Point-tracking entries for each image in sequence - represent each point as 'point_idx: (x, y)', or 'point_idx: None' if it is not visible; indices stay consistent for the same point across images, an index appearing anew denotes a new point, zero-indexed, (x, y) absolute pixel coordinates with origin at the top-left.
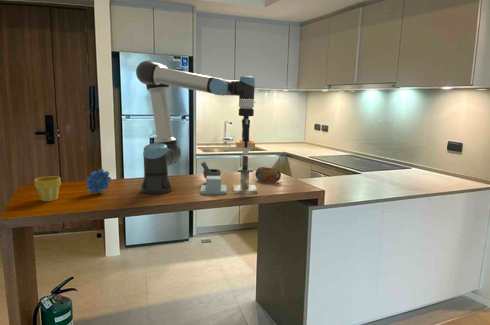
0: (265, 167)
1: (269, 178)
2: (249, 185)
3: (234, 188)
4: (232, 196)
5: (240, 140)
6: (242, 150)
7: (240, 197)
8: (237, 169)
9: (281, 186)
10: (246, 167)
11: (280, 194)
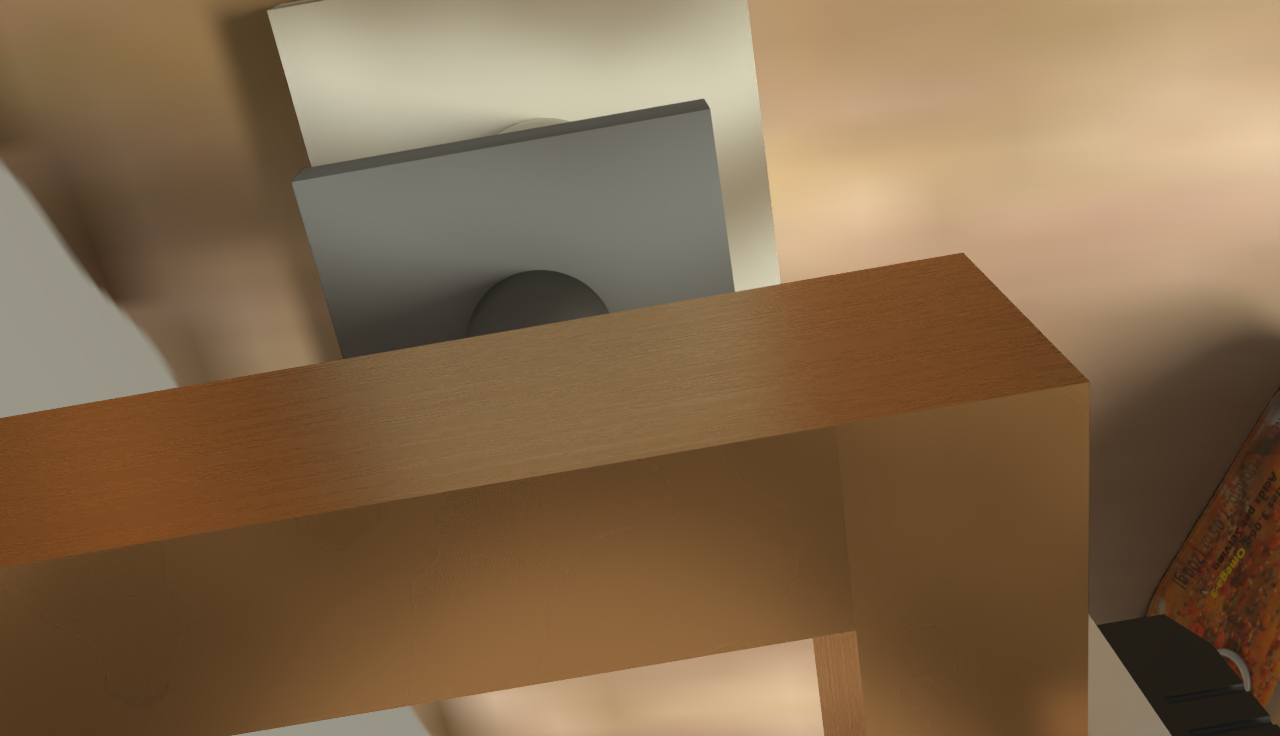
0: None
1: (1240, 564)
2: (732, 269)
3: (435, 10)
4: (66, 17)
5: (996, 692)
6: None
7: (55, 170)
8: (583, 122)
9: None
10: None
11: (435, 711)
